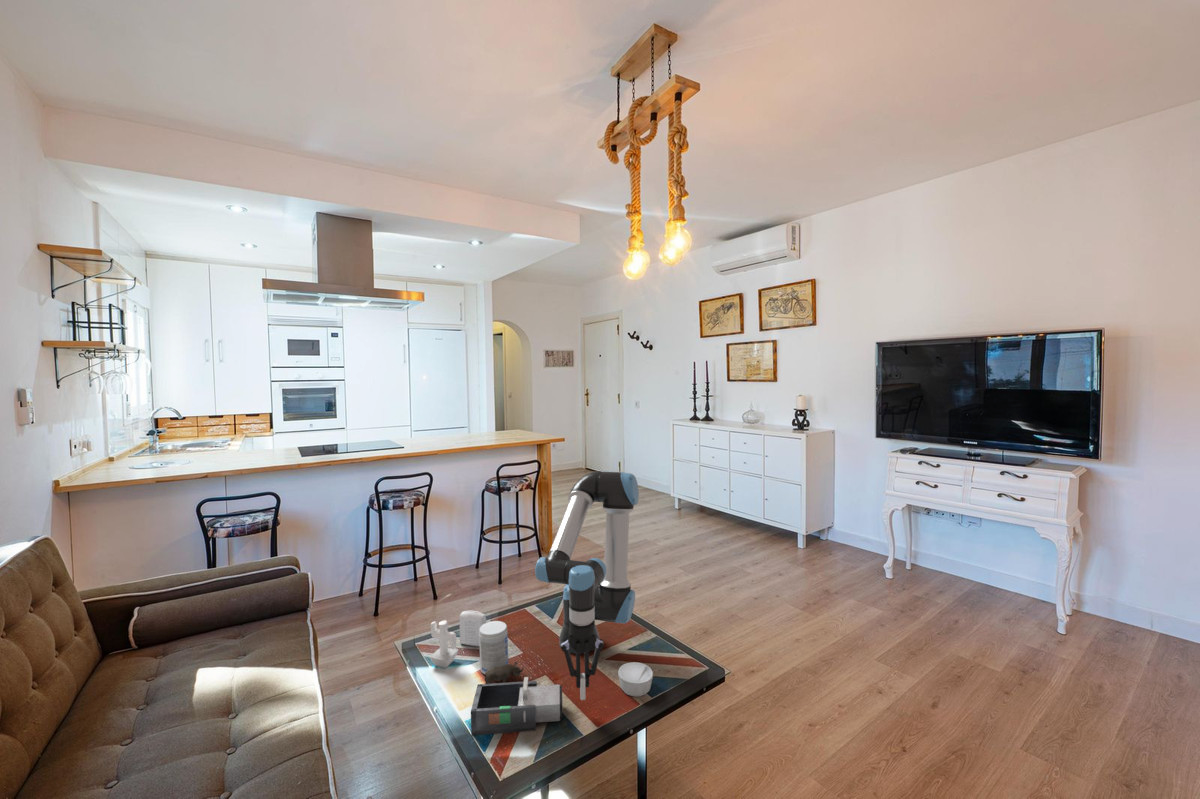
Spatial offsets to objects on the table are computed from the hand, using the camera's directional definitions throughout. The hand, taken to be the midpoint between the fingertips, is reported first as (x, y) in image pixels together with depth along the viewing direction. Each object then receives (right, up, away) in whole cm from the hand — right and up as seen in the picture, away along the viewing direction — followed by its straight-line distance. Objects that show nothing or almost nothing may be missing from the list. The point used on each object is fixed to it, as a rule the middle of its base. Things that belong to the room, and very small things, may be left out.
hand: (582, 696), depth 147 cm
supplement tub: (-31, -4, +23) cm, 39 cm away
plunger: (-12, -4, -1) cm, 13 cm away
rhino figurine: (-26, -5, +15) cm, 31 cm away
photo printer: (-43, -4, +39) cm, 58 cm away
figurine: (-50, -4, +26) cm, 56 cm away
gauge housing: (-23, -5, -1) cm, 23 cm away
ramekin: (+17, -5, +12) cm, 21 cm away
